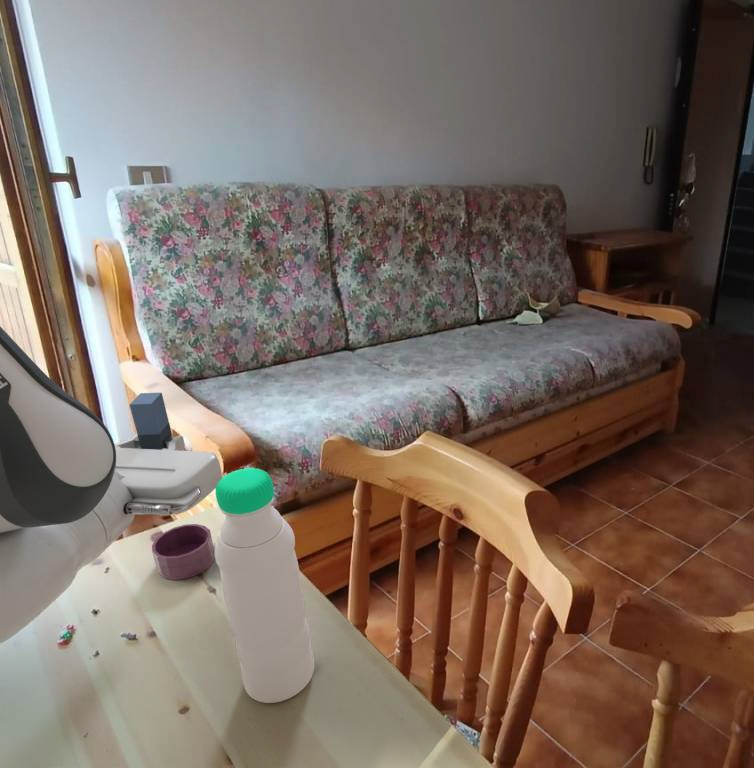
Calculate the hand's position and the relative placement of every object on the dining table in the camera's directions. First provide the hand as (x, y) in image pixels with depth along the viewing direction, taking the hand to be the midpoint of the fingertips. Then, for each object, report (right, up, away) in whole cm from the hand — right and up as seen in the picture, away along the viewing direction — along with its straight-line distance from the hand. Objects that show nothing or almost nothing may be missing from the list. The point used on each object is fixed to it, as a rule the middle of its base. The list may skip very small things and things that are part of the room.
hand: (161, 439), depth 75 cm
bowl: (-1, -17, +7) cm, 18 cm away
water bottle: (+18, -25, -9) cm, 31 cm away
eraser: (0, -7, +2) cm, 7 cm away
